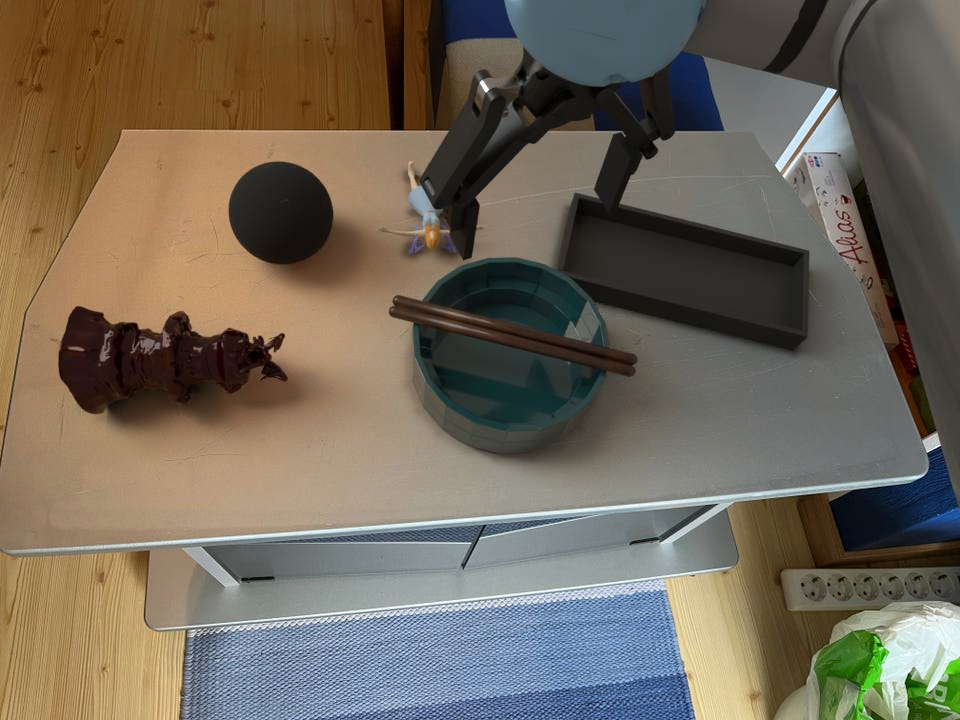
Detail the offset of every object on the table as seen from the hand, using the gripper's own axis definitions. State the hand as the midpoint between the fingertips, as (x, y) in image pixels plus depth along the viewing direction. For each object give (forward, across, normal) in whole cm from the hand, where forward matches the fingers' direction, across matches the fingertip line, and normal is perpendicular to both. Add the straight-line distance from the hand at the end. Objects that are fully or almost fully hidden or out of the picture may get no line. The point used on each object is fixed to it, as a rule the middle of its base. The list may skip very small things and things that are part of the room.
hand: (534, 222), depth 62 cm
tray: (+16, -20, +2) cm, 26 cm away
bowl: (+16, +3, +4) cm, 17 cm away
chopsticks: (+10, +3, +4) cm, 12 cm away
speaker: (+17, +17, -17) cm, 30 cm away
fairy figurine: (+17, +2, -16) cm, 23 cm away
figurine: (+17, +30, -6) cm, 35 cm away
